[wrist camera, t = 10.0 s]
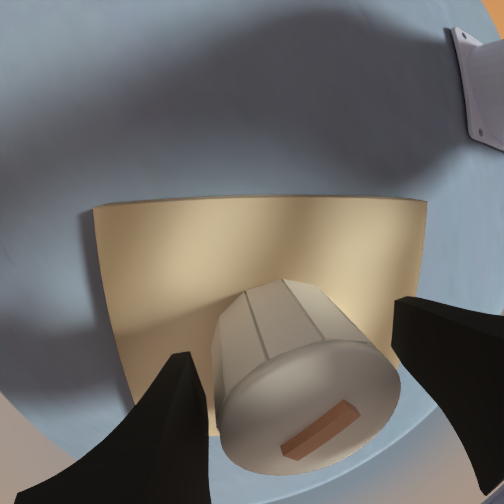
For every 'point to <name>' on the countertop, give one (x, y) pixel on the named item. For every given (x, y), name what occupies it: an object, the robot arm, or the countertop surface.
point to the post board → (248, 267)
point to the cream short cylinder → (296, 381)
